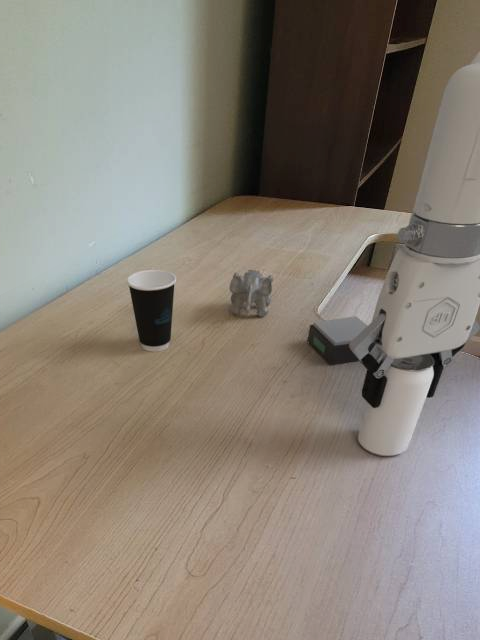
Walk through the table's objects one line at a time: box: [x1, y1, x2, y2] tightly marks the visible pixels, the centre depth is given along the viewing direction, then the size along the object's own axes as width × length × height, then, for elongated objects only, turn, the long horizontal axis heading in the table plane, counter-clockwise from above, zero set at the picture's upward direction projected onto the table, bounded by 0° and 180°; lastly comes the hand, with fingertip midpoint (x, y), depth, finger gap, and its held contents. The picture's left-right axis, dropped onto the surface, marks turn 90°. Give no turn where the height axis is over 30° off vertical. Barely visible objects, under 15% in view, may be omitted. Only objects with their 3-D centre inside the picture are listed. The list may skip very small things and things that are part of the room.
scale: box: [307, 315, 376, 366], centre depth 86 cm, size 9×9×4 cm
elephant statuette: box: [229, 269, 274, 318], centre depth 94 cm, size 9×12×8 cm
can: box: [357, 352, 434, 457], centre depth 64 cm, size 6×6×12 cm
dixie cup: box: [126, 269, 177, 353], centre depth 86 cm, size 8×8×11 cm
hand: (397, 395), depth 63 cm, fingers closed on can, 6 cm apart
